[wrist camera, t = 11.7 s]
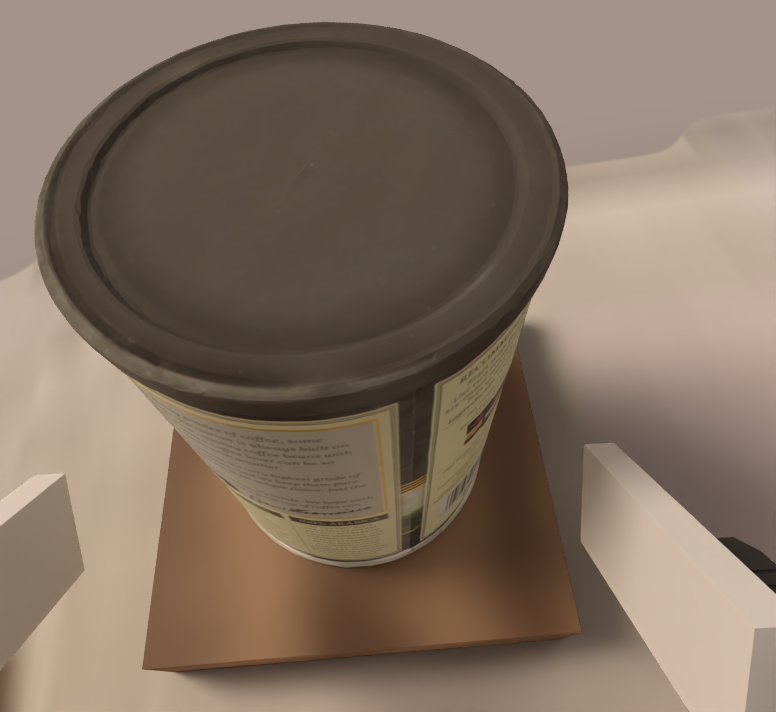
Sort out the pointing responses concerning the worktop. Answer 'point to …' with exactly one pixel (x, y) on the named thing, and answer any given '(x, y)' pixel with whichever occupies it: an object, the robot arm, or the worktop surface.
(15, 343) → the worktop surface
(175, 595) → the walnut board
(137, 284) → the coffee can
